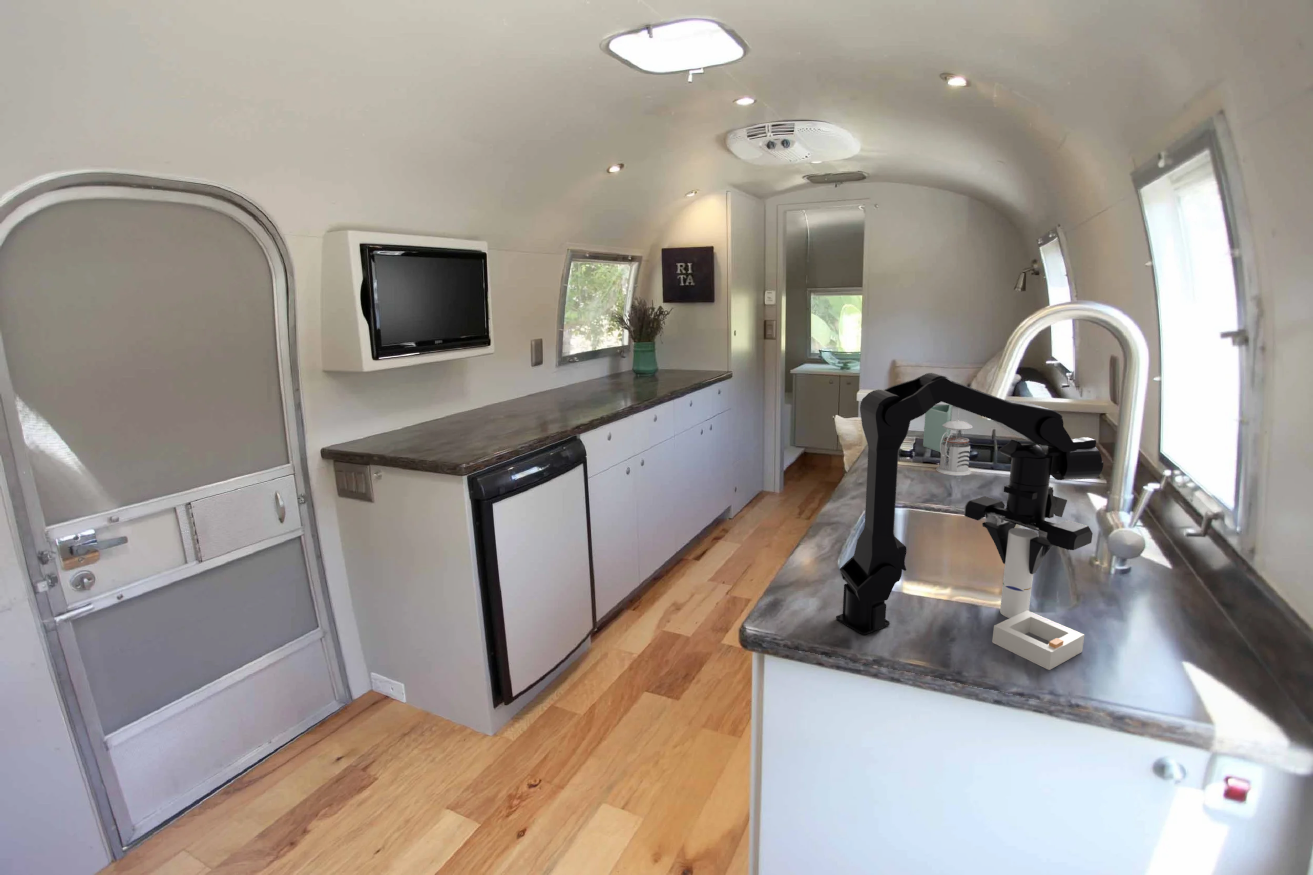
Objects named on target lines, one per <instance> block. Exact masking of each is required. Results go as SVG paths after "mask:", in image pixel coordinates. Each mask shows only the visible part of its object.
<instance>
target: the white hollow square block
mask: <svg viewBox="0 0 1313 875" xmlns="http://www.w3.org/2000/svg"><path fill="white" fill-rule="evenodd" d="M1084 641H1085V634H1084V633H1082V632H1079V631H1077V630H1075V629H1072V628H1070V627H1067V626H1065V625H1063V624H1060V623H1058V622H1056V621H1053V620H1052V619H1048V618H1046V617H1044V616H1041V615H1039V614H1037V613H1034V612H1032V611H1030V610H1029V611H1028V610H1027V611H1025V612H1022V613H1020V614H1018V615H1016V616H1014V617H1012V618H1007V619H1005V620H1002V621H1001V622H999V623H997V624H994V625H993V632H992V642H991V643H992V644H995V645H996V646H999V647H1000V648H1002V649H1004V650H1006V651H1009V652H1011V653H1013V654H1015V655H1017V656H1019V657H1021V658H1023V659H1024V660H1028V661H1029V662H1032V663H1033V664H1036V665H1038V666H1040V667H1042V668H1044V669H1046V670H1047V671H1051V670H1052V669H1054V668H1056V667H1057V666H1060V665H1062V664H1063V663H1065V662H1066V661H1068V660H1070V659H1072V658H1074V657H1075V656H1077V655H1080V653H1083V649H1084V648H1083V647H1084Z"/></svg>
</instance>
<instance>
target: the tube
mask: <svg viewBox="0 0 1313 875" xmlns="http://www.w3.org/2000/svg"><path fill="white" fill-rule="evenodd" d="M1036 537H1038V532H1036V531H1035V530H1033V529H1029V528H1023V527H1022V528H1020V527H1015V528H1012V529H1010V530H1009V533H1008V542H1007V551H1006V560H1005V564H1004V569H1003V570H1004V571H1003V579H1002V581H1003V582H1002V591H1001V597H1000V605H999V606H1000V608H999V612H1000V614H1001V615H1002V616H1003V617H1006V618H1007V619H1009V618H1012V617H1014V616H1016V615H1018V614H1020V613H1022V612H1025V611H1027V610H1028V611H1030V604H1031V594H1032V586H1033V579H1034V574H1030V571H1029V551H1030V539H1033V538H1036Z"/></svg>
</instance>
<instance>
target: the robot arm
mask: <svg viewBox="0 0 1313 875" xmlns="http://www.w3.org/2000/svg"><path fill="white" fill-rule="evenodd" d="M940 403H944V404H946V405H949V404H950V405H952V406H953V407H955V408H958V409H961V410H963V411H967V412H969V413H971V414H975V415H978V416H981V417H984V418H986V419H989V420H991V421H993V422H994V423H996V424H997V425H999V427H1001V428H1003V429H1004V430H1006V431H1008V432H1009V433H1011V434H1013V435H1014V436H1016V437H1020V438H1021V439H1024V440H1026V441H1030V442H1032V443H1021V442H1020V441H1017V440H1014V439H1011V440H1010V441H1008V443H1006V444H1005V445H1003V446H1002V447H1000V448H999V449H998V452H999V453H1001V454H1002V455H1004V456H1007V457H1009V458H1011V462H1010V471H1009V480H1008V485H1007V484H1006V485H1003V493H1005V494H1006V493H1007V499H1006V505H1005V503H1004V502H1003V500H1000V499H995V498H993V497H989V496H985V495H983V496H980V497H978V498H973V499H971V500H969V501H967V502H966V504H965V505H964V511H963V512H964V513H963V515H964V517H965V518H969V519H972V520H975V521H981V520H982V519H984V518H985V521H984V522H982V524H981V525H982V527H983V528H985V529H986V530H987V532H988V533H989V536H990V537H991V539H992V541H993V542H994V546H995V548H996V549H997V552H998V554H999V557H1000V559H1001V561H1002V563H1003V565H1005V560H1006V551H1007V542H1008V533H1009V530H1010V529H1012V528H1016V525H1019V526H1021V527H1024V528H1026V529H1029V530H1033V531H1037V534H1038V537H1036V538H1033V539H1030V551H1029V571H1030V574H1033V575H1034V574H1036V573H1037V571H1038V569H1039V568H1040V566H1041V564H1042V563H1043V561H1044V559H1045V558H1046V556H1047V555H1048V553H1049V551H1050V550H1051V549H1052V548H1053V547H1058V548H1062V549H1063V550H1068V551H1075V550H1077V549H1080V548H1082V547H1084V546H1088V545H1090V544H1092V541H1093V531H1092V530H1091V528H1090V526H1089V525H1086V524H1082V523H1079V522H1075V521H1072V520H1070V519H1064V520H1063V521H1058V522H1057V523H1054V522H1051V521H1046V520H1045V519H1053V518H1054V516H1055V517H1059V518H1063V514H1064V512H1065V509H1066V506H1067V504H1068V503H1067V502H1068V499H1064V498H1062V497H1060V496H1055V495H1054V487H1052V486H1050V480H1051V477H1052V478H1054V480H1057V481H1071V480H1074V481H1075V480H1092V479H1096V478H1098V477H1099V476H1100V475H1101V474H1102V472H1103V468H1104V461H1103V458H1102V455H1101V452H1100V450H1099V449H1098V448H1097V447H1096V445H1097V440H1096V439H1093V438H1090V437H1087V436H1086V437H1079V438H1078V437H1077V438H1071V436H1070V435H1069V433H1068V431H1067V430H1066V428H1065V427H1064V420H1063V415H1062V414H1061V413H1060V412H1059V411H1057V410H1055V409H1051V408H1047V407H1044V406H1040V405H1037V404H1034V403H1031V402H1025V401H1024V402H1023V401H1018V400H1010V399H1009V400H1008V399H1003V398H1000V397H997V396H995V395H992V394H989V393H987V392H983V391H982V390H979V389H975V388H972V387H970V386H968V385H964V384H962V383H960V382H956V381H953V380H951V379H950V378H949V377H947V376H946V375H945V376H944V375H942V374H938V373H933V372H928V373H925V374H923V375H921V376H918V377H916V378H915V379H912V380H907V381H904V382H901V383H897V384H894V385H891V386H890V387H887V388H885V389H875V390H872V391H870V392H869V393H866V395H865V396H864V397H863V398H862V399H861V401H860V405H859V411H860V412H859V413H860V420H861V427H862V430H863V433H864V437H865V440H866V443H867V448H868V449H867V465H866V466H867V468H866V469H867V471H866V491H865V492H866V494H865V511H864V512H865V514H864V527H863V530H862V532H861V534H859V537H858V538H857V540H856V544H855V545H856V546H855V549H854V554H853V556H851V558H849V559H848V560H847V561H846V562H845V563H843V565H841V567H840V568H839V573H840V575H841V578H842V580H844V582H845V583H844V584H843V596H842V597H843V598H842V613H841V614H838V615H836V616H835V620H836V621H838V622H840V623H842V625H843V624H844V625H845V626H847V627H849V628H850V629H852V630H853V631H855V632H857V633H858V634H860V635H862V636H864V635H865V636H866V635H869V634H871V633H873V632H877V631H879V630H881V629H883V628H885V627H888V626H890V624H891V623H890V622H891V621H890V620H887V619H886V616H887V615H886V614H887V604H886V603H885V602H886V601H887V600H889V598H890V596H891V594H892V591H893V589H894V587H895V584H896V583H897V582H900V580H901V579H902V575H903V571H904V572H905V571H907V568H906V565H905V564H906V563H905V560H906V556H907V555H906V554H907V546H906V545H905V544H904V543H903V542H902V541H901V540H900V539H898V538H897V537H896V536H895V519H896V504H897V502H896V501H897V486H898V485H897V484H898V467H899V453H900V448H901V447H902V444H903V443H904V441H905V440H906V437H907V436H908V434H909V429H910V426H911V425H910V424H911V421H914V420H915V419H918V418H920V417H922V416H923V415H924V416H925V413H926V412H927V411H929V410H930V409H931V408H932V407H933V406H937V404H940ZM1041 446H1047V447H1041ZM1005 506H1006V507H1005Z"/></svg>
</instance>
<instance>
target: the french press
mask: <svg viewBox="0 0 1313 875" xmlns="http://www.w3.org/2000/svg"><path fill="white" fill-rule="evenodd" d="M959 416H960V409H958V410H957V419H956V420H951V421H949V422H947V423H945V424H943V427H944V428H946V429H950V430H953V431H968V430H970V431H971V429H973V425H972V424H970V423H969V422H967V421H963V420H959V418H960V417H959ZM945 434H946V436H947V432H945ZM945 434H944V435H945ZM944 435H943V436H944ZM942 439H943V440H944V441H946V442H942ZM942 439H941V442H942V446H941V442H940V452H939V453H940V459H939V460H940V461H939V466H937V467H936V468H935V470H936V471H937V472H938V473H941V474H944V475H950V476H968V475H971V474H972V470H971V469H970V468H969V465H970V462H968V461H970V458H969V457H970V452H971V444H970V439H969V438H967V437H963V436H958V432H956V434H955V436H953V433H951V432H950V435H949V436H947V437H944V438H943V437H942ZM947 447H948V450H947ZM941 448H942V449H941ZM941 450H942V451H941Z"/></svg>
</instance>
